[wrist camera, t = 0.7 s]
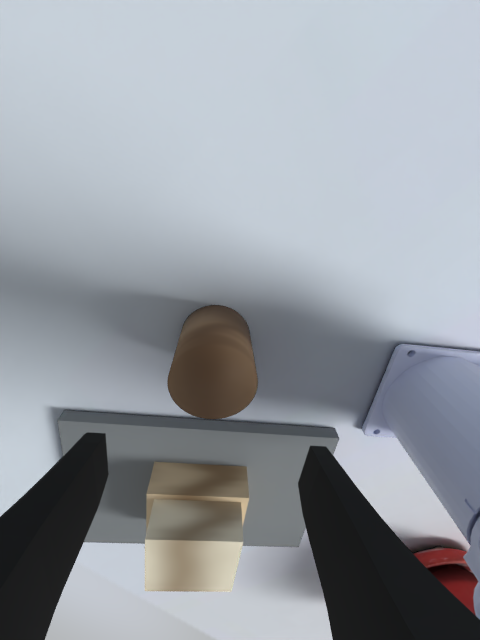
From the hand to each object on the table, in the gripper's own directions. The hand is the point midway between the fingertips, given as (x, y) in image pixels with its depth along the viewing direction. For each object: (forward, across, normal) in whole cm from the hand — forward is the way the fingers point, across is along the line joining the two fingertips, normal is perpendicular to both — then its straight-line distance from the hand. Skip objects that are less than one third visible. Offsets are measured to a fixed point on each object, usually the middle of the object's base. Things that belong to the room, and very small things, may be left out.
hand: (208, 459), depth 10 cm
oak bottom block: (+8, 0, +14) cm, 16 cm away
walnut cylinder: (+9, 0, 0) cm, 9 cm away
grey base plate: (+9, 0, +14) cm, 17 cm away
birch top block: (+6, 0, +14) cm, 15 cm away
